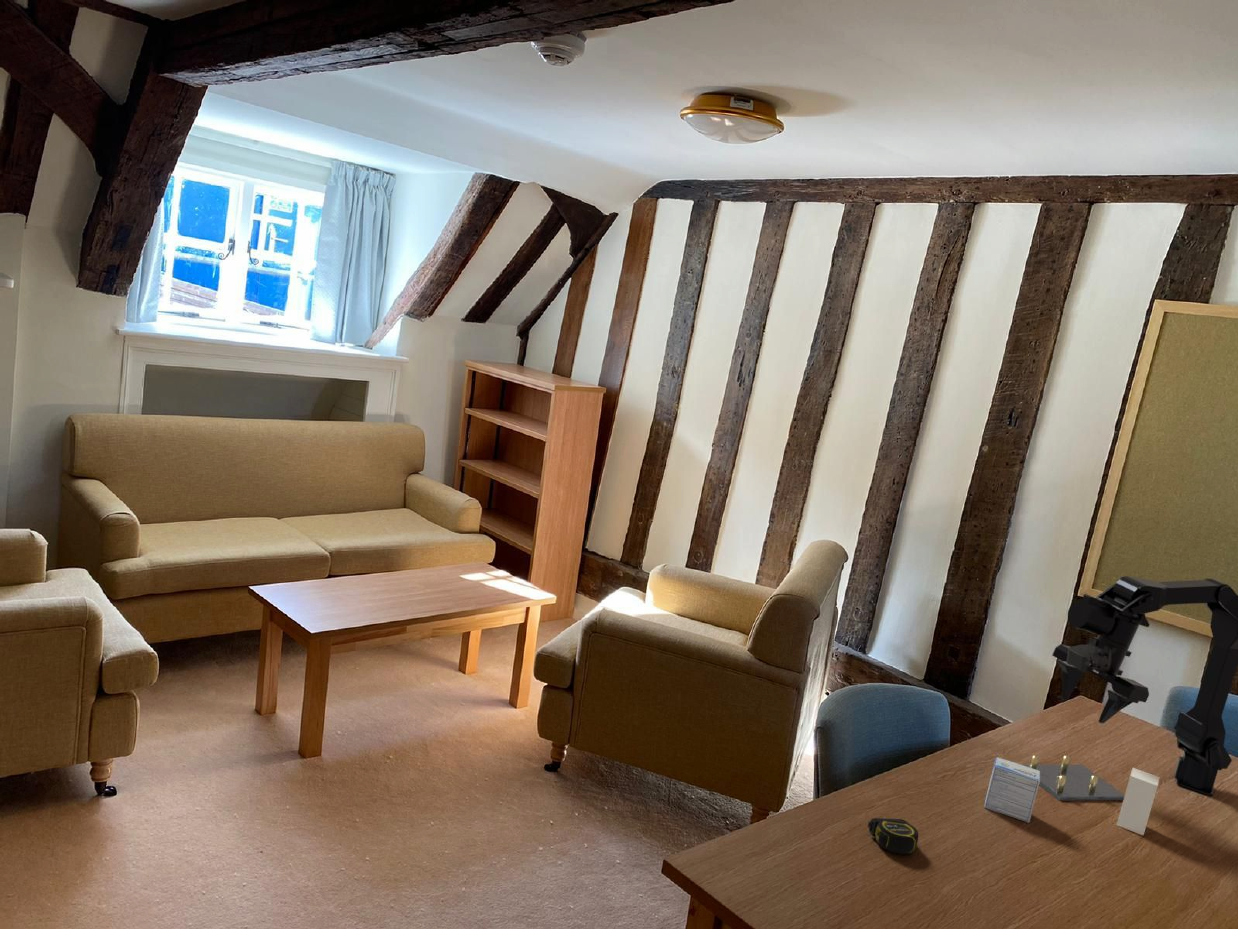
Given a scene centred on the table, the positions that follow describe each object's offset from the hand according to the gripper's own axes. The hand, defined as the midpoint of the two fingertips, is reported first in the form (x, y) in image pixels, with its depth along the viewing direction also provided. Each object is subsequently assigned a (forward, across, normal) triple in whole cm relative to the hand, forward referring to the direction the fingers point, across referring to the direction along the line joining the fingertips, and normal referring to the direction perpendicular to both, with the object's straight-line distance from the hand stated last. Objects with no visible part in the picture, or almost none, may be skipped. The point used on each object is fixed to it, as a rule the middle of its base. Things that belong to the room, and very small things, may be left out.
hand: (1082, 711), depth 191 cm
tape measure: (+24, +15, -51) cm, 59 cm away
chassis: (+14, +2, +2) cm, 15 cm away
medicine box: (+19, +9, -21) cm, 29 cm away
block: (+14, +17, +2) cm, 22 cm away
